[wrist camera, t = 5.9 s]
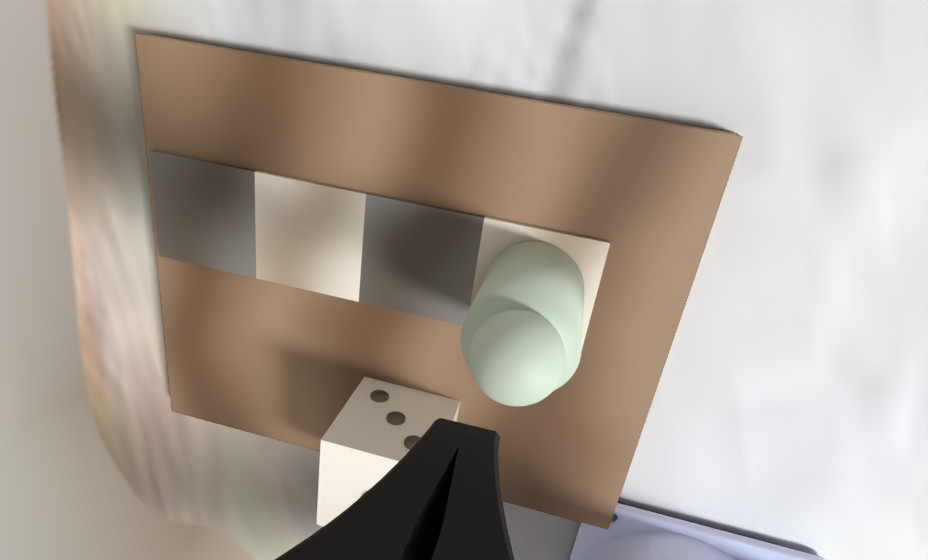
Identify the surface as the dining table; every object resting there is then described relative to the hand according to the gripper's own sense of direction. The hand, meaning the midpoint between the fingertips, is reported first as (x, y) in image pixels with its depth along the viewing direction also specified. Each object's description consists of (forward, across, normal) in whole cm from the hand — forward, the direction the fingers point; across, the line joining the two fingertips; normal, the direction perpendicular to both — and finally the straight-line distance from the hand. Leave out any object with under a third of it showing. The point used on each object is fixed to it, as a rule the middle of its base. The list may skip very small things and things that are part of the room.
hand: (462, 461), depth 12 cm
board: (+9, +4, +1) cm, 10 cm away
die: (+9, +3, +7) cm, 12 cm away
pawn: (+8, -1, -1) cm, 8 cm away
